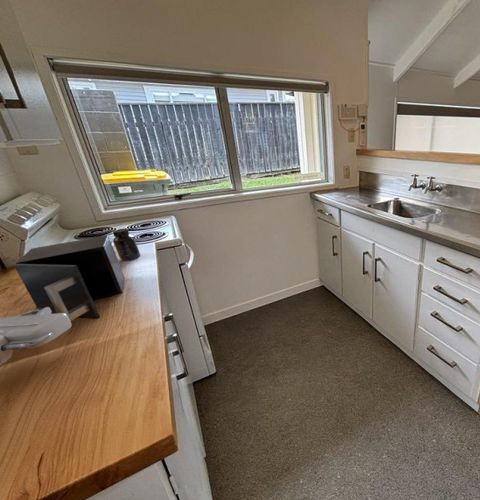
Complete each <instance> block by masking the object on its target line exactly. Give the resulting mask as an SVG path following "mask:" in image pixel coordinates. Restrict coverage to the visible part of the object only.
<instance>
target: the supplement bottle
mask: <svg viewBox="0 0 480 500" xmlns="http://www.w3.org/2000/svg"><path fill="white" fill-rule="evenodd" d="M112 234H113V237H114V238H113V239H112V242H113V246H114V247H115V250H116V252H117V256H118V257H119V259H120V261H122V262H128V261H127V260H129V261H133V260H136V259H138V258H140V257H141V253H140V250H139V247H138V243H137V242H136V238H135V237H134V236H133V235H132V234H130V231H129V229H128V228H119V229H115V230H113V231H112ZM135 258H136V259H135ZM132 259H133V260H132Z"/></svg>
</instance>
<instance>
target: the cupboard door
mask: <svg viewBox="0 0 480 500" xmlns="http://www.w3.org/2000/svg"><path fill="white" fill-rule="evenodd" d="M13 267H14V269H15V271H16V273H17V274H18V277H19V278H20V280H21V281H22V283H23V285H24V287H25V289H26V291H27V292H28V295H29V296H30V298H31V299H32V302H33V303H34V305H35V308H43V307H49V308H50V309H51V311H52V312H51V314H56V313H66V314H67V315H68V317H69V319H70V321H71V322H72V321H73V320H75V319H78V318H79V319H93V320H94V319H95V320H97V319H101V316H100V313H99V311H98V308H97V307H96V305H95V303H94V302H95V301H93V300H92V298H91V296H90V294H89V291H88V289H87V287H86V285H85V283H84V281H83V278H82V276H81V274H80V272H79V270H78V267H77V265H46V264H16V263H15V264H13Z"/></svg>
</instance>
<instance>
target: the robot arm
mask: <svg viewBox="0 0 480 500" xmlns="http://www.w3.org/2000/svg"><path fill="white" fill-rule="evenodd" d="M51 312H52V311H51V309H50V308H49V307H43V308H37V307H34V308H32V309H31V310H28V311H26V312H22V313H20V314H17V315H14V316H4V317H0V366H2V365H3V364H4V363H6V362H7V361H9V360H10V359H11V358H12V356H13V354H14V350H15V351H16V350H27V349H34V348H39V347H42V346H44V345H46V344H48V343H50V342H51V341H53V340H55V339H57V338H58V337H60V336H61V335H63V334H64V333H66V332H67V331H69V330H70V329H71V327H72V321H70V319H69V317H68V315H67V314H66V313H56V314H51Z"/></svg>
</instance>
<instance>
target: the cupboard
mask: <svg viewBox="0 0 480 500" xmlns="http://www.w3.org/2000/svg"><path fill="white" fill-rule="evenodd" d="M15 264H46V265H77V267H78V270H79V272H80V274H81V276H82V278H83V281H84V283H85V285H86V287H87V289H88V291H89V294H90V296H91V298H92V300H93V302H95V301H99V300H103V299H107V298H110V297H114V296H118V295H121V294H124V287H125V279H126V277H125V275H124V272H123V269H122V267H121V265H120V262H119V259H118V256H117V254H116V252H115V249H114V245H113V244H112V241H111V238H110V236H109V235H108V234H106V235H102V236H96V237H95V236H94V237H90V238H84V239H78V240H72V241H67V242H61V243H56V244H48V245H44V246H38V247H33V248H30V249H29V250H28V251H27V252H26V253H25V254H24V255H22V256H21V258H19V260H18V261H16V263H15Z"/></svg>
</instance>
